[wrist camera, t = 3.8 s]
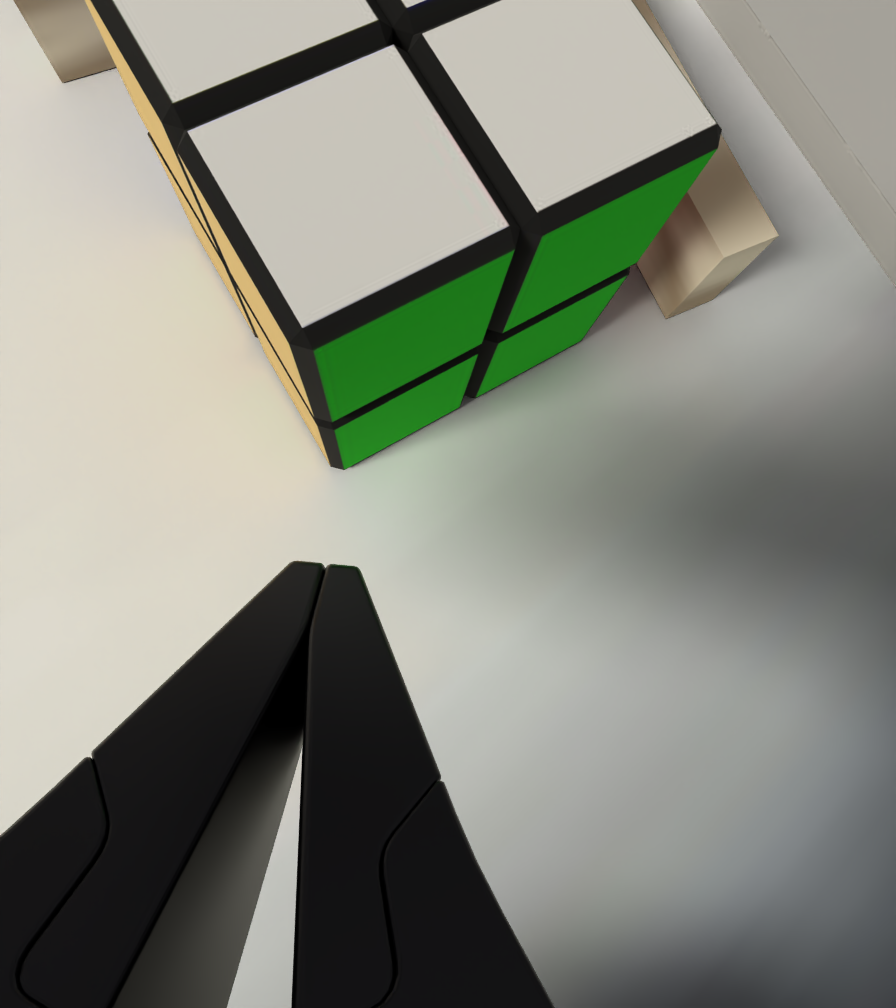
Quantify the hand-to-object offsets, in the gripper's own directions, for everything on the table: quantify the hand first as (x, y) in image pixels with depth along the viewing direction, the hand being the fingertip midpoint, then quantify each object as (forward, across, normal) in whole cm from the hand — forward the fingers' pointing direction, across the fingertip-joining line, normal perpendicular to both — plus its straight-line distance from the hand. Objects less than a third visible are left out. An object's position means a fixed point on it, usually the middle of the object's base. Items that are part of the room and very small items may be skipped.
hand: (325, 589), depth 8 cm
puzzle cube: (+17, 0, +1) cm, 17 cm away
